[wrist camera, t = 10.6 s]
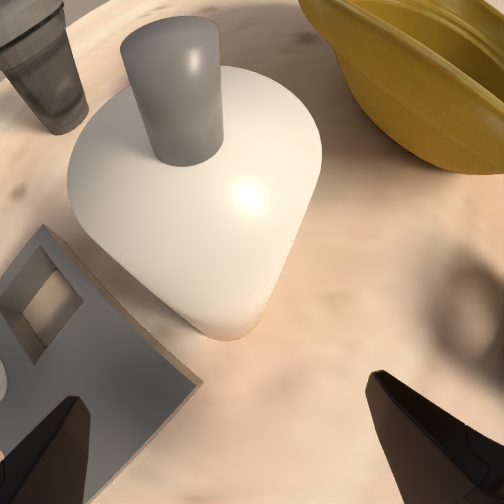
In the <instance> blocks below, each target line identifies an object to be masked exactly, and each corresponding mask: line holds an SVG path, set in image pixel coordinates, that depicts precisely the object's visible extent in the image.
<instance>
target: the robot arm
mask: <svg viewBox="0 0 504 504" xmlns="http://www.w3.org/2000/svg"><path fill="white" fill-rule="evenodd" d="M365 394H366V398H367V401H368V405H369V408H370V412H371V415H372V419H373V422H374V426H375V430H376V433H377V436H378V438H379V441H380V443H381V446H382V448H383V451H384V453H385V456H386V458H387V461H388V463H389V466H390V468H391V471H392V473H393V476H394V478H395V481H396V483H397V486H398V488H399V491H400V493H401V496H402V499H403V501H404V504H504V446H503V445H501V444H499V443H497V442H495V441H493V440H491V439H489V438H487V437H485V436H484V435H482V434H480V433H479V432H477V431H475V430H474V429H472V428H471V427H469V426H468V425H465V424H464V423H463V422H461V421H460V420H458V419H457V418H455V417H454V416H452V415H451V414H449V413H448V412H446V411H444V410H443V409H441V408H440V407H438V406H437V405H435V404H434V403H432V402H431V401H429V400H428V399H426V398H425V397H423V396H422V395H420V394H419V393H417V392H416V391H414V390H413V389H411V388H410V387H408V386H407V385H405V384H404V383H402V382H401V381H399V380H398V379H397V378H395V377H394V376H392V375H391V374H389V373H388V372H386V371H384V370H379V371H375V372H372V373H371V374H370V376H369V379H368V383H367V386H366V390H365ZM90 422H91V415H90V412H89V410H88V408H87V407H86V405H85V404H84V402H83V401H82V399H81V398H80V397H79V396H71V395H69V396H67V397H66V398H65V399H64V400H62V401H61V402H60V403H59V404H58V405H57V406H56V407H55V408H54V409H53V410H52V411H51V412H50V413H49V414H48V415H47V416H46V417H45V418H44V419H43V420H42V421H41V422H40V423H39V424H38V425H37V426H36V427H35V428H34V429H33V430H32V431H31V432H30V433H29V434H28V435H27V436H26V437H25V438H24V439H23V440H22V441H21V442H20V443H19V444H18V445H17V446H16V447H15V448H14V449H13V450H12V451H11V452H10V453H9V454H8V455H7V456H6V457H5V458H4V460H2V461H1V462H0V504H83V498H84V489H85V480H86V473H87V465H88V457H89V438H90Z"/></svg>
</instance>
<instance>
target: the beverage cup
mask: <svg viewBox="0 0 504 504" xmlns="http://www.w3.org/2000/svg"><path fill="white" fill-rule="evenodd" d="M63 7H64V3H63V2H62V0H0V70H2V72H3V73H4V75H5V76H6V77H7V79H8V80H9V81H10V83H11V84H12V85H13V87H14V88H15V89H16V91H17V92H18V93H19V94H20V96H21V97H22V98H23V100H24V101H25V102H26V103H27V105H28V106H29V107H30V108H31V110H32V111H33V112H34V113H35V115H36V116H37V117H38V118H39V120H40V121H41V122H42V123H43V125H45V126H46V127H47V128H48V129H49V130H50V132H51V133H52V134H54V135H62V134H65V133H68V132H69V131H71V130H73V129H75V128H76V127H77V126H78V125H79V124H81V122H82V121H83V120H84V119H85V117H86V116H87V114H88V110H89V107H88V104H87V102H86V98H85V93H84V90H83V87H82V84H81V81H80V78H79V74H78V71H77V68H76V65H75V61H74V58H73V55H72V51H71V48H70V44H69V41H68V37H67V33H66V29H65V27H66V25H65V15H64V10H63Z"/></svg>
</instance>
